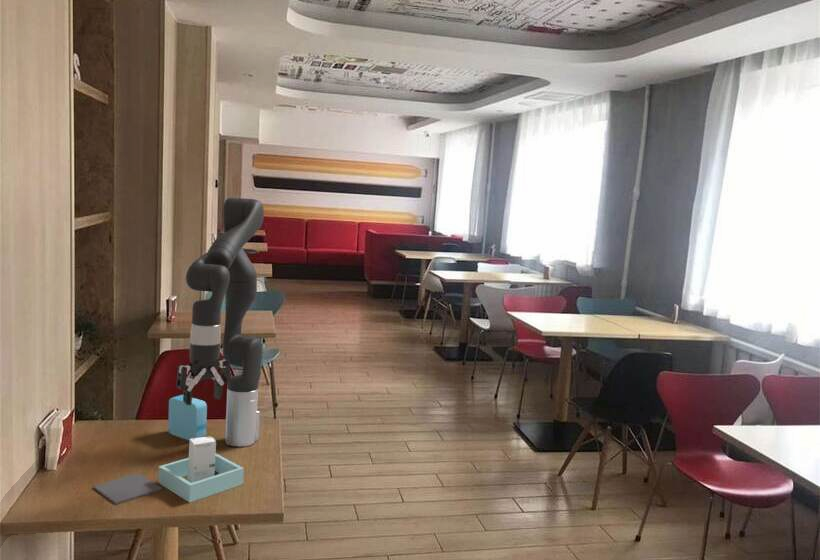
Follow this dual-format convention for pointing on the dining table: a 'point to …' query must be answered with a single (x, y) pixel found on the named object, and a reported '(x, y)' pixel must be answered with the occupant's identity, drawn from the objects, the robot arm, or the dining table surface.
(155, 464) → the dining table surface
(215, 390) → the robot arm
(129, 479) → the mat
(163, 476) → the bin
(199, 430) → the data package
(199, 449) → the skincare box
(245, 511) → the dining table surface
